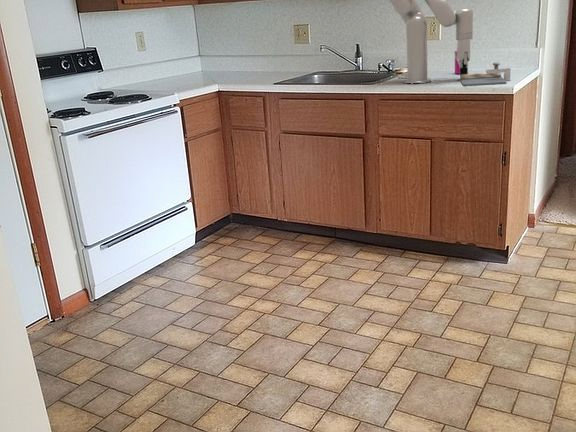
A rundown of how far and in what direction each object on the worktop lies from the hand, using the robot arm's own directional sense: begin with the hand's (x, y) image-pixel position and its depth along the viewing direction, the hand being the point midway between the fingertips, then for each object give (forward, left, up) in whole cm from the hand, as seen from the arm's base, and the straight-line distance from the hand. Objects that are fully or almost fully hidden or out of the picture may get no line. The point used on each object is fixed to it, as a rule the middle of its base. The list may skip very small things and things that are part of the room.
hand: (463, 76), depth 294 cm
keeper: (+15, -10, -2) cm, 18 cm away
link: (+7, -3, -1) cm, 8 cm away
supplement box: (0, +23, -2) cm, 23 cm away
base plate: (+8, -10, -2) cm, 13 cm away
